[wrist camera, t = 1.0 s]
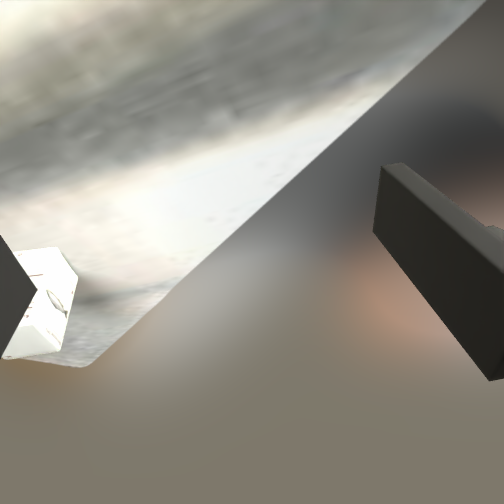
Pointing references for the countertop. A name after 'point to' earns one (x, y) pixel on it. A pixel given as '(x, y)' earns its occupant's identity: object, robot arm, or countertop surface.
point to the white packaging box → (44, 304)
